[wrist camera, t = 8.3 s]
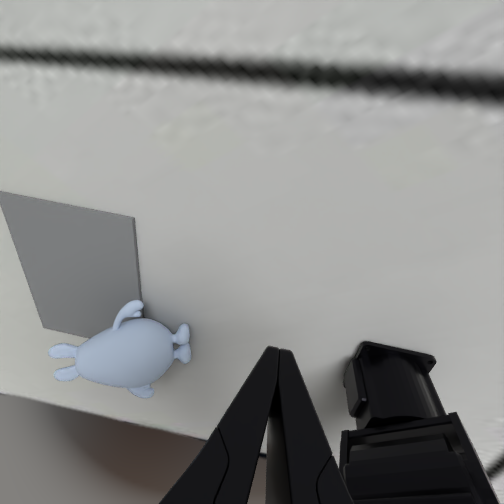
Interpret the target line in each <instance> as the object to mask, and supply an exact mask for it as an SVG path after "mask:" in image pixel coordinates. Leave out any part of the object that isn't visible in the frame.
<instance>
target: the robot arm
mask: <svg viewBox="0 0 504 504" xmlns="http://www.w3.org/2000/svg"><path fill="white" fill-rule="evenodd" d="M435 364H436V360H435V358H434V356H432V355H428V354H424V353H419V352H414V351H410V350H405V349H401V348H396V347H391V346H387V345H382V344H377V343H373V342H367V341H366V342H363V343H362V344H361V346H360V348H359V350H358V352H357V354H356V356H355V358H353V359H352V360H351V362H350V364H349V366H348V368H347V370H346V372H345V374H344V381H343V385H344V387H345V388H346V394H347V401H348V409H349V414H350V416H351V417H354V418H356V425H357V430H352V431H349V430H344V431H342V435H341V443H340V462H339V468H338V466H337V463H336V461H335V458H334V456H332V451H331V448H330V446H329V443H328V441H327V438H326V436H325V433H324V431H323V428H322V426H321V423H320V421H319V418H318V416H317V413H316V411H315V408H314V406H313V403H312V401H311V398H310V395H309V393H308V390H307V388H306V385H305V383H304V380H303V378H302V375H301V373H300V370H299V368H298V365H297V363H296V360H295V358H294V355H293V353H292V351H290V350H286V349H280V350H279V348H277V347H273V346H267V348H266V349H265V351H264V352H263V354H262V356H261V357H260V359H259V360H258V362H257V363H256V365H255V367H254V368H253V370H252V371H251V373H250V374H249V376H248V378H247V379H246V381H245V382H244V384H243V386H242V387H241V389H240V390H239V392H238V393H237V395H236V397H235V398H234V400H233V401H232V403H231V405H230V406H229V408H228V409H227V411H226V412H225V414H224V416H223V417H222V419H221V420H220V422H219V423H218V425H217V427H216V428H215V430H214V431H213V433H212V434H211V436H210V437H209V439H208V440H207V442H206V443H205V445H204V446H203V448H202V449H201V451H200V452H199V454H198V455H197V456H196V458H195V459H194V460H193V462H192V463H191V464H190V466H189V467H188V468H187V469H186V471H185V472H184V473H183V475H182V476H181V477H180V478H179V479H178V481H177V482H176V483H175V484H174V485H173V487H172V488H171V489H170V490H169V492H168V493H167V494H166V495H165V497H164V498H163V499H162V500H161V501H160V503H159V504H247V502H248V498H249V494H250V490H251V486H252V482H253V478H254V474H255V470H256V465H257V461H258V458H259V454H260V450H261V446H262V442H263V437H264V433H265V429H266V425H267V421H268V432H267V467H266V468H267V469H266V502H265V504H500V502H499V500H498V497H497V495H496V493H495V491H494V489H493V486H492V484H491V482H490V480H489V478H488V476H487V473H486V471H485V469H484V467H483V465H482V463H481V461H480V459H479V457H478V455H477V452H476V450H475V448H474V446H473V444H472V442H471V440H470V438H469V436H468V434H467V432H466V430H465V428H464V426H463V424H462V422H461V420H460V418H459V416H458V414H457V412H453V413H448V414H449V415H446V413H445V410H444V408H443V406H442V403H441V401H440V399H439V396H438V394H437V392H436V390H435V387H434V385H433V383H432V380H431V378H430V376H429V372H430V371H431V370H432V368H433V367H434V365H435Z"/></svg>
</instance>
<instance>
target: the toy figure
mask: <svg viewBox="0 0 504 504" xmlns="http://www.w3.org/2000/svg"><path fill="white" fill-rule="evenodd" d="M143 307H144V305H143V303H142V302H141V301H140V300H133V301H130V302H128V303H127V304H126V305H125V306H124V307H122V309H121V310H120V311H119V313H118V314H117V316H116V319H115V321H114V324H113V326H112V327H110V328H108V329H106V330H104V331H102V332H100V333H98V334H97V335H95V336H93V337H92V338H90V339H88V340H87V341H85V342H84V343H83V344H82V345H80V346H79V347H78V346H74V345H71V344H67V343H61V344H57V345H54V346H53V347H51V348H50V349H49V351H48V354H49V356H50V357H52V358H72V357H73V358H75V365H73V366H69V367H65V368H61V369H58V370H56V371H55V372H54V377H55V378H56V379H57V380H59V381H71V380H73V379H75V378H76V377H78V376H79V375H80V376H81V377H83V378H85V379H87V380H90V381H93V382H96V383H100V384H104V385H108V386H114V387H122V388H127V389H128V390H129V391H130V392H131V393H132V394H134V395H135V396H137V397H140V398H150V397H152V396H153V394H154V389H153V388H150V384H151V383H153V382H154V381H156V380H157V379H158V378H160V377H161V376H162V375H163V374H164V373H165V372H166V371H167V369H168V368H169V367H170V365H171V364H172V362H173V360H174V359H179V360H180V361H181V362H182V363H184V364H186V363H188V362H189V361H190V360H191V349H190V345H189V343H188V342H189V338H190V333H189V326H188V325H187V324H185V323H184V324H182V325H181V326H180V327H179V329H178V331H177V333H176V334H172V333H171V332H170V330H169V329H167V328H166V327H165V326H164V325H162V324H161V323H159V322H157V321H155V320H152V319H147V318H137V319H132V320H128V321H125V322H122V320H123V319H124V318H126V317H140V316H141V312H140V311H139V310H141V309H142V308H143ZM121 322H122V323H121ZM173 343H177V344H179V345H180V347H179V348H178V349H175V350H174V348H173Z"/></svg>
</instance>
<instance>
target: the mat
mask: <svg viewBox="0 0 504 504" xmlns="http://www.w3.org/2000/svg"><path fill="white" fill-rule="evenodd" d="M0 205H1V208H2V211H3V214H4V216H5V219H6V222H7V225H8V228H9V231H10V234H11V236H12V239H13V242H14V245H15V248H16V251H17V254H18V257H19V259H20V262H21V265H22V268H23V271H24V274H25V277H26V279H27V282H28V285H29V288H30V291H31V294H32V297H33V299H34V302H35V305H36V308H37V311H38V314H39V317H40V319H41V322H42V325H43V328H46V329H51V330H55V331H59V332H64V333H68V334H72V335H77V336H81V337H85V338H92V337H93V336H95V335H97V334H98V333H100V332H102V331H104V330H106V329H108V328H110V327H112V326H113V324H114V321H115V319H116V316H117V314H118V313H119V311H120V310H121V309H122V307H124V306H125V305H126V304H127V303H128V302H130V301H133V300H140V301H141V302H142V296H141V285H140V274H139V263H138V251H137V240H136V229H135V218H133V217H128V216H123V215H118V214H113V213H108V212H103V211H98V210H93V209H88V208H83V207H78V206H73V205H68V204H62V203H57V202H52V201H47V200H42V199H37V198H32V197H27V196H22V195H17V194H12V193H7V192H2V191H0ZM139 311H140V312H141V316H140V317H126V318H124V319H123V320H122V322H125V321H128V320H132V319H137V318H143V308H142V309H141V310H139ZM122 322H121V323H122Z"/></svg>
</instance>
